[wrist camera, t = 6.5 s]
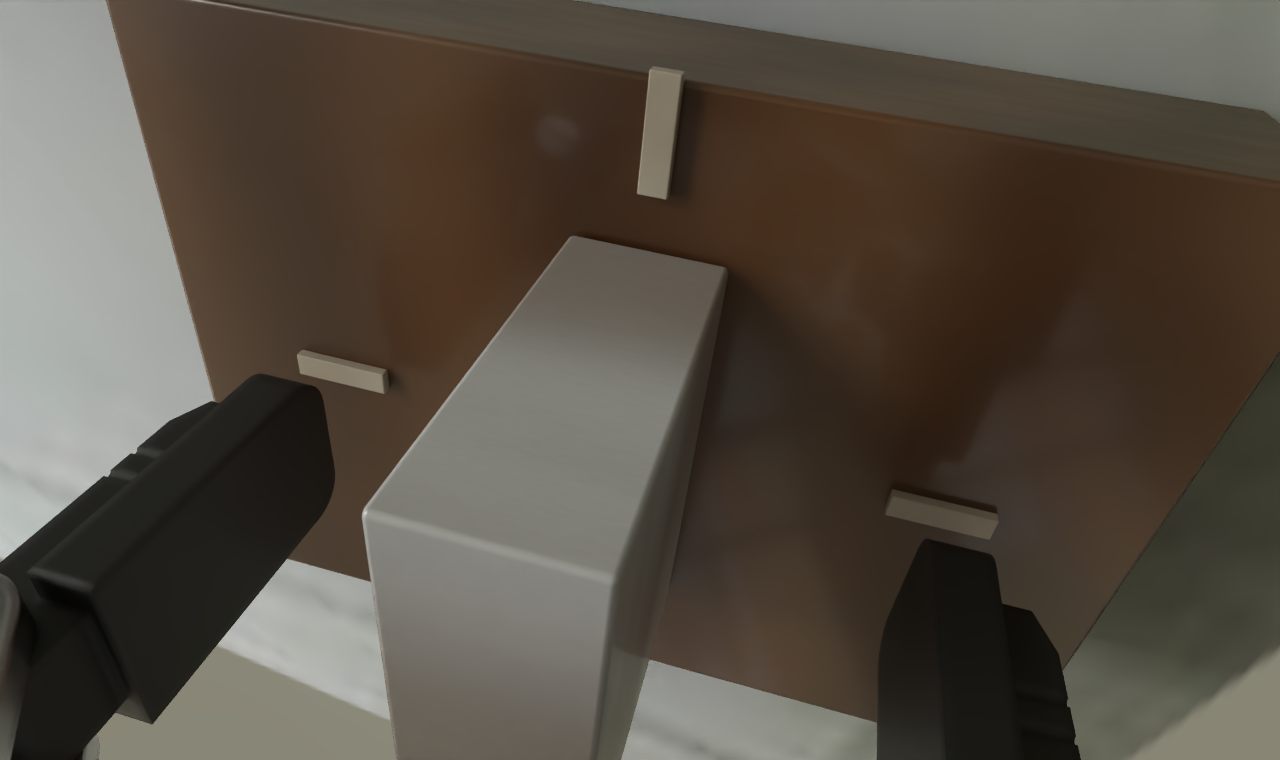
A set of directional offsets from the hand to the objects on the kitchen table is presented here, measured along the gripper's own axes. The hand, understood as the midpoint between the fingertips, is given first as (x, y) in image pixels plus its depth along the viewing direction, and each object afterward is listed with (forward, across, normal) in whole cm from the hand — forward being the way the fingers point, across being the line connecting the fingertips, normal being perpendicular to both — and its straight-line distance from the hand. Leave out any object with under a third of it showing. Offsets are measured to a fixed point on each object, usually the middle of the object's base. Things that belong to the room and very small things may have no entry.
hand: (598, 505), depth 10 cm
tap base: (+4, 0, 0) cm, 4 cm away
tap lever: (+1, 0, 0) cm, 1 cm away
